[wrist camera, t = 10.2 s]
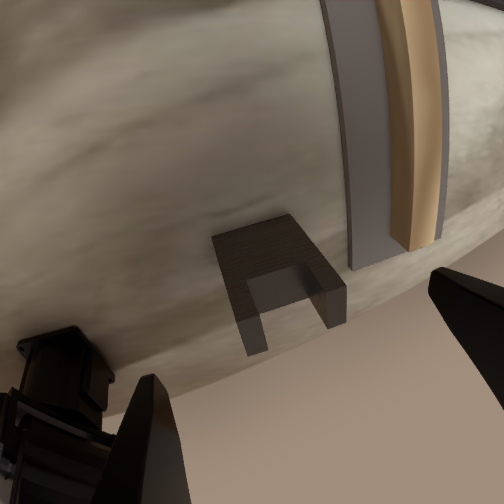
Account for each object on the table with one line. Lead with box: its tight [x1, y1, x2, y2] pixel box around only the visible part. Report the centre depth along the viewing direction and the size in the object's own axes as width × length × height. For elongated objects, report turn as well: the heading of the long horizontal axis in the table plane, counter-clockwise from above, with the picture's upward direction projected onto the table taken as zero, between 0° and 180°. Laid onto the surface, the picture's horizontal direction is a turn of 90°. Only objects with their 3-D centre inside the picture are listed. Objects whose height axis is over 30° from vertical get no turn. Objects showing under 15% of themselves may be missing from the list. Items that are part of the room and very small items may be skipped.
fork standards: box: [212, 214, 347, 356], centre depth 12 cm, size 5×21×8 cm, turn 12°
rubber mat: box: [320, 0, 449, 271], centre depth 16 cm, size 9×28×1 cm, turn 12°
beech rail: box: [374, 0, 442, 252], centre depth 15 cm, size 2×24×2 cm, turn 11°
